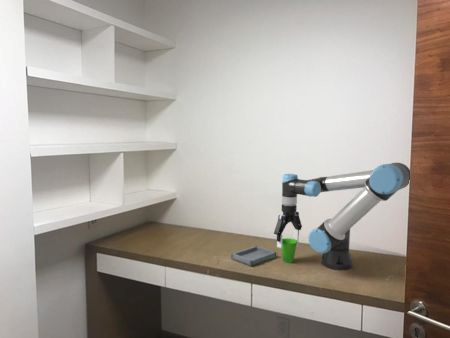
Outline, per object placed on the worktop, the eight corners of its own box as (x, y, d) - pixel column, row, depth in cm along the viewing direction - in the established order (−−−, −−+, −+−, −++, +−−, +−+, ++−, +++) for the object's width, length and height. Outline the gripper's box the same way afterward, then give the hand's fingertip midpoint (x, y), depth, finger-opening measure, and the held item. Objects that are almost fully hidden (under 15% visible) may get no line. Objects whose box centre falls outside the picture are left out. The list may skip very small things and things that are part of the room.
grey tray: (276, 257, 192) (276, 252, 191) (251, 266, 179) (251, 261, 179) (256, 250, 202) (256, 245, 202) (231, 259, 190) (231, 253, 189)
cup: (297, 265, 181) (297, 244, 180) (278, 264, 183) (279, 243, 182) (297, 259, 190) (297, 238, 189) (279, 257, 192) (280, 237, 190)
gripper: (297, 199, 194) (296, 237, 197) (267, 206, 177) (266, 247, 180) (309, 202, 188) (308, 241, 191) (279, 209, 172) (278, 251, 174)
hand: (287, 244), depth 186 cm, fingers open, 13 cm apart
